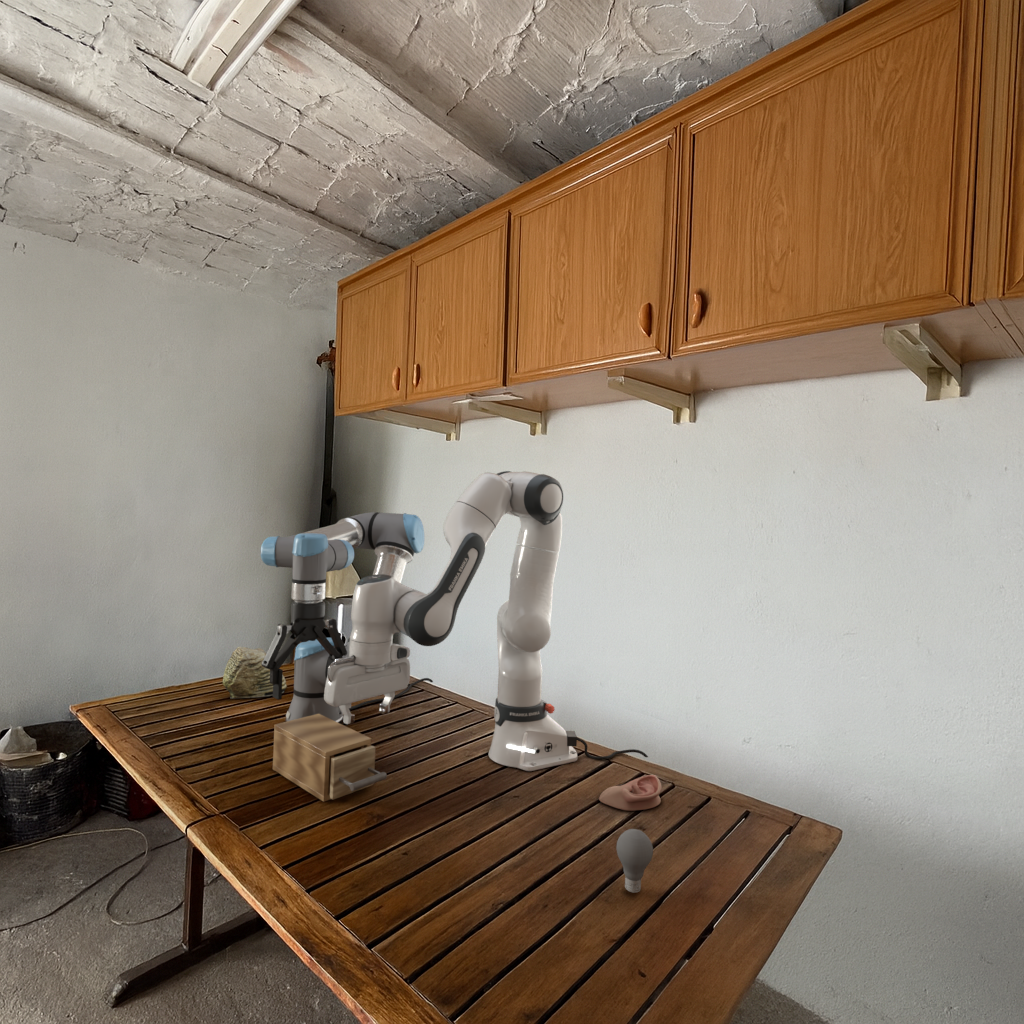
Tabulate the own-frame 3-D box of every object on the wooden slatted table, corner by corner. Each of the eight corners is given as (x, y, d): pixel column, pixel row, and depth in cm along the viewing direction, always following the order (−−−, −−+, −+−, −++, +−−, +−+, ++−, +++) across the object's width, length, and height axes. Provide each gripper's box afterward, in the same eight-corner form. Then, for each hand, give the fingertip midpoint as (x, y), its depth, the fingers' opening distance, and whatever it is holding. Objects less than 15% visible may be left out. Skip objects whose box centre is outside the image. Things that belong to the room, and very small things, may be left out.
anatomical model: (598, 788, 134) (602, 766, 145) (597, 806, 134) (601, 783, 146) (662, 796, 132) (661, 774, 143) (662, 815, 132) (660, 791, 143)
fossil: (218, 695, 195) (220, 647, 195) (278, 685, 208) (279, 640, 207) (228, 703, 189) (230, 653, 188) (289, 692, 201) (290, 645, 201)
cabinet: (369, 784, 140) (371, 738, 140) (323, 801, 132) (325, 752, 131) (317, 755, 154) (318, 713, 154) (272, 769, 146) (274, 724, 146)
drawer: (390, 793, 134) (391, 754, 134) (348, 809, 127) (350, 768, 127) (323, 756, 151) (325, 722, 151) (283, 769, 144) (284, 733, 144)
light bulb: (610, 879, 108) (613, 822, 108) (644, 879, 109) (647, 822, 109) (619, 902, 102) (622, 840, 102) (655, 901, 103) (658, 840, 103)
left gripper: (263, 608, 134) (260, 707, 135) (363, 598, 153) (360, 685, 153) (247, 603, 139) (244, 698, 140) (346, 594, 158) (343, 678, 158)
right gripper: (339, 663, 123) (335, 734, 123) (416, 648, 139) (412, 710, 139) (319, 657, 127) (315, 725, 127) (396, 642, 143) (393, 703, 143)
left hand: (305, 692), depth 146 cm, fingers open, 13 cm apart
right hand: (366, 717), depth 133 cm, fingers open, 8 cm apart
